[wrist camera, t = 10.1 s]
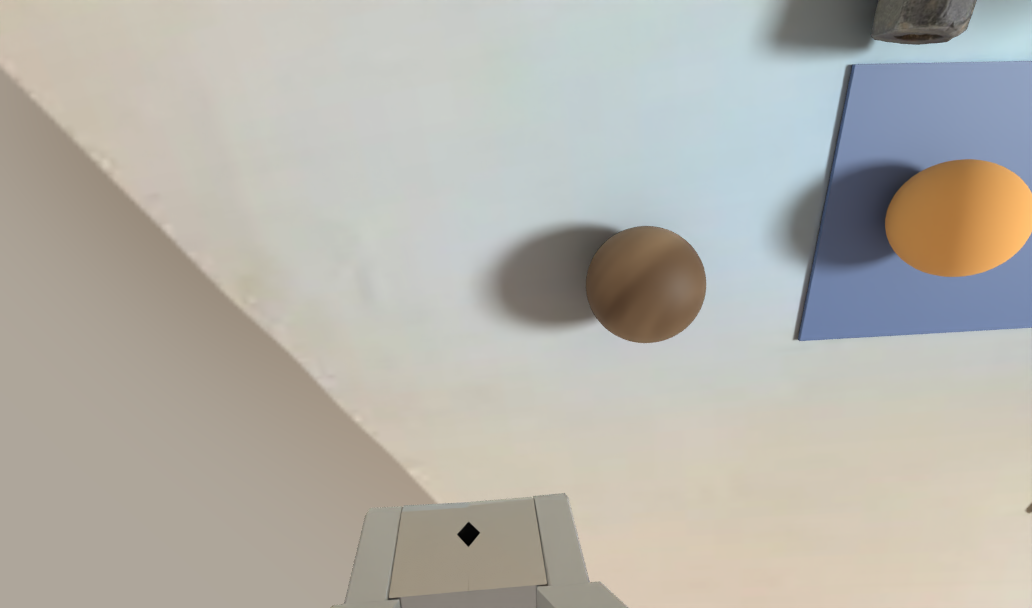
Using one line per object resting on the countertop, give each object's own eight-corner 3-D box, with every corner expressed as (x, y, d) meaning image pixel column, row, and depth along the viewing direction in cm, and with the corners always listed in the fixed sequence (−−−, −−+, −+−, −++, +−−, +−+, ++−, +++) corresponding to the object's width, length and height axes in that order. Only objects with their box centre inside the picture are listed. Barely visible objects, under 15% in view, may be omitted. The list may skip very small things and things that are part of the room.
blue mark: (852, 64, 25) (855, 64, 24) (1130, 59, 26) (1135, 59, 25) (797, 339, 30) (800, 340, 30) (1030, 326, 31) (1033, 327, 31)
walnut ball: (752, 262, 23) (663, 191, 26) (673, 302, 20) (581, 218, 23) (697, 340, 27) (624, 272, 29) (624, 384, 24) (550, 304, 27)
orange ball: (1076, 157, 23) (934, 148, 27) (1018, 174, 21) (872, 162, 25) (1037, 276, 25) (911, 250, 29) (980, 304, 23) (852, 271, 27)
